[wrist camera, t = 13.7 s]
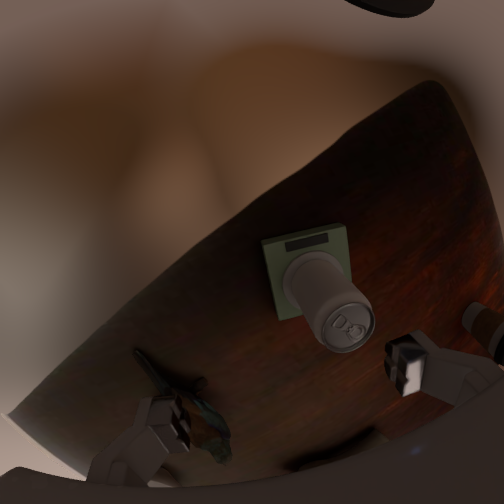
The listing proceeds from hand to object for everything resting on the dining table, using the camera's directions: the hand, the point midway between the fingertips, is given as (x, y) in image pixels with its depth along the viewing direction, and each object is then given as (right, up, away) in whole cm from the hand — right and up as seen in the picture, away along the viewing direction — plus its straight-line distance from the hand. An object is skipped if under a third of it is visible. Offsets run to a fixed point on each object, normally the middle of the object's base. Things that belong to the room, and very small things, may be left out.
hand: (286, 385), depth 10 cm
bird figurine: (-13, -18, +35) cm, 41 cm away
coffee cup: (+44, -8, +37) cm, 58 cm away
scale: (+6, +3, +30) cm, 31 cm away
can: (+7, +1, +28) cm, 29 cm away
